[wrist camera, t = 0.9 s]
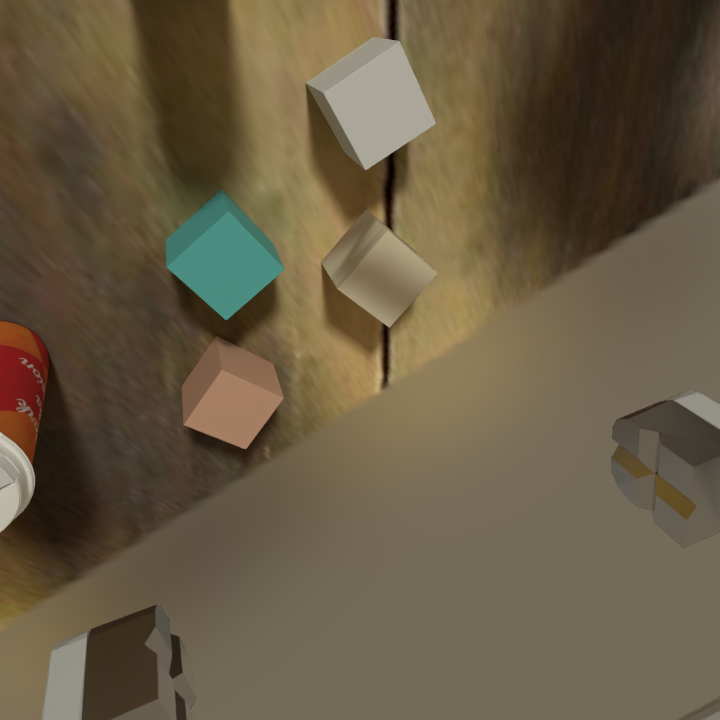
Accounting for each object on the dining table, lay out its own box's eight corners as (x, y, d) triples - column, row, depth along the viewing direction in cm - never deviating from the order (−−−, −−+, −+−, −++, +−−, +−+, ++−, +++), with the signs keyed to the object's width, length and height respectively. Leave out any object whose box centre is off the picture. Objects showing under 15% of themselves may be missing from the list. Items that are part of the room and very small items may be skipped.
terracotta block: (216, 335, 44) (221, 369, 40) (272, 363, 46) (283, 398, 42) (181, 386, 45) (183, 425, 41) (238, 411, 48) (245, 449, 44)
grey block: (372, 37, 37) (399, 41, 33) (407, 110, 40) (436, 123, 36) (305, 82, 37) (323, 93, 33) (344, 153, 40) (365, 170, 36)
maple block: (365, 208, 42) (387, 230, 38) (412, 248, 45) (438, 273, 41) (320, 262, 43) (337, 289, 39) (368, 298, 46) (389, 327, 42)
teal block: (221, 188, 39) (228, 211, 35) (272, 242, 42) (284, 269, 38) (166, 239, 40) (166, 267, 35) (219, 289, 42) (226, 320, 38)
